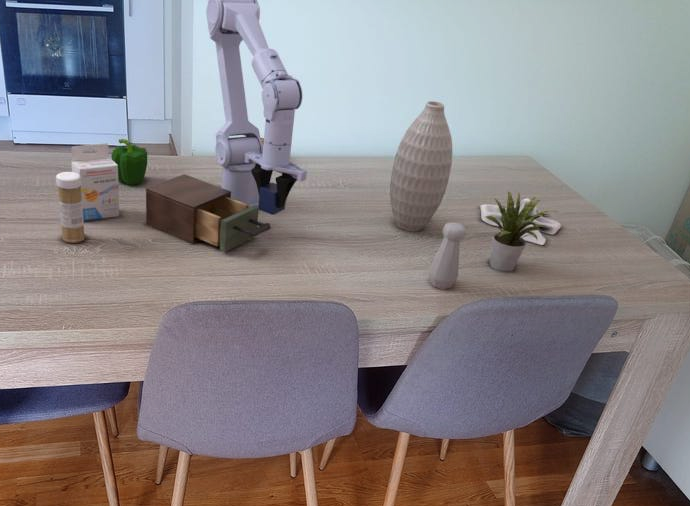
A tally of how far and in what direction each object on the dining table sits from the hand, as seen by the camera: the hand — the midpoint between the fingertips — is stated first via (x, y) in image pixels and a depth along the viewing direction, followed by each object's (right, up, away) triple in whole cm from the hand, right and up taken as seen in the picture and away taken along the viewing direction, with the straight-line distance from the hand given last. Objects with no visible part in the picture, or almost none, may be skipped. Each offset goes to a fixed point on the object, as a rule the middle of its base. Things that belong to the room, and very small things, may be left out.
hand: (271, 203), depth 153 cm
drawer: (-9, -8, -3) cm, 13 cm away
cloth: (+61, -1, +21) cm, 65 cm away
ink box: (-38, -2, +2) cm, 38 cm away
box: (0, -1, +1) cm, 1 cm away
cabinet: (-18, -4, +2) cm, 19 cm away
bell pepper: (-35, +9, +19) cm, 41 cm away
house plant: (+50, -14, 0) cm, 52 cm away
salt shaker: (+35, -19, -9) cm, 40 cm away
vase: (+32, -2, +14) cm, 35 cm away
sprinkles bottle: (-40, -9, -9) cm, 42 cm away
